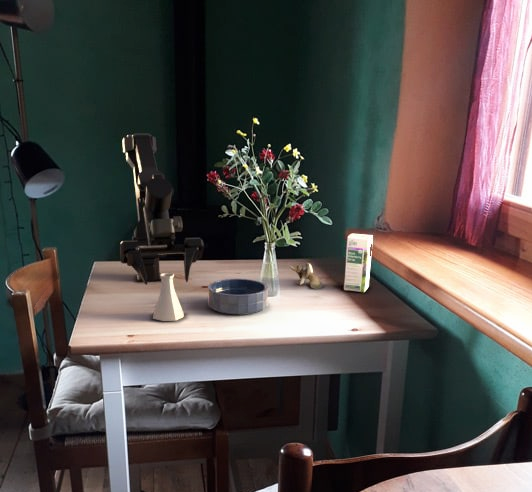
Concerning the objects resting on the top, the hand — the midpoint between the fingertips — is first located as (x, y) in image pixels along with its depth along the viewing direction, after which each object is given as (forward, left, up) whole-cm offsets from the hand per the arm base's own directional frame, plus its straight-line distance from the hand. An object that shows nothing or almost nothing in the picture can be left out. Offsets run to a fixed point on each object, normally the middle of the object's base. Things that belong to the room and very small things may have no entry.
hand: (166, 282), depth 139 cm
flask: (0, 0, -8) cm, 8 cm away
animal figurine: (-21, +39, -8) cm, 45 cm away
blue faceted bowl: (-5, +17, -8) cm, 19 cm away
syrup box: (-15, +51, -8) cm, 54 cm away
